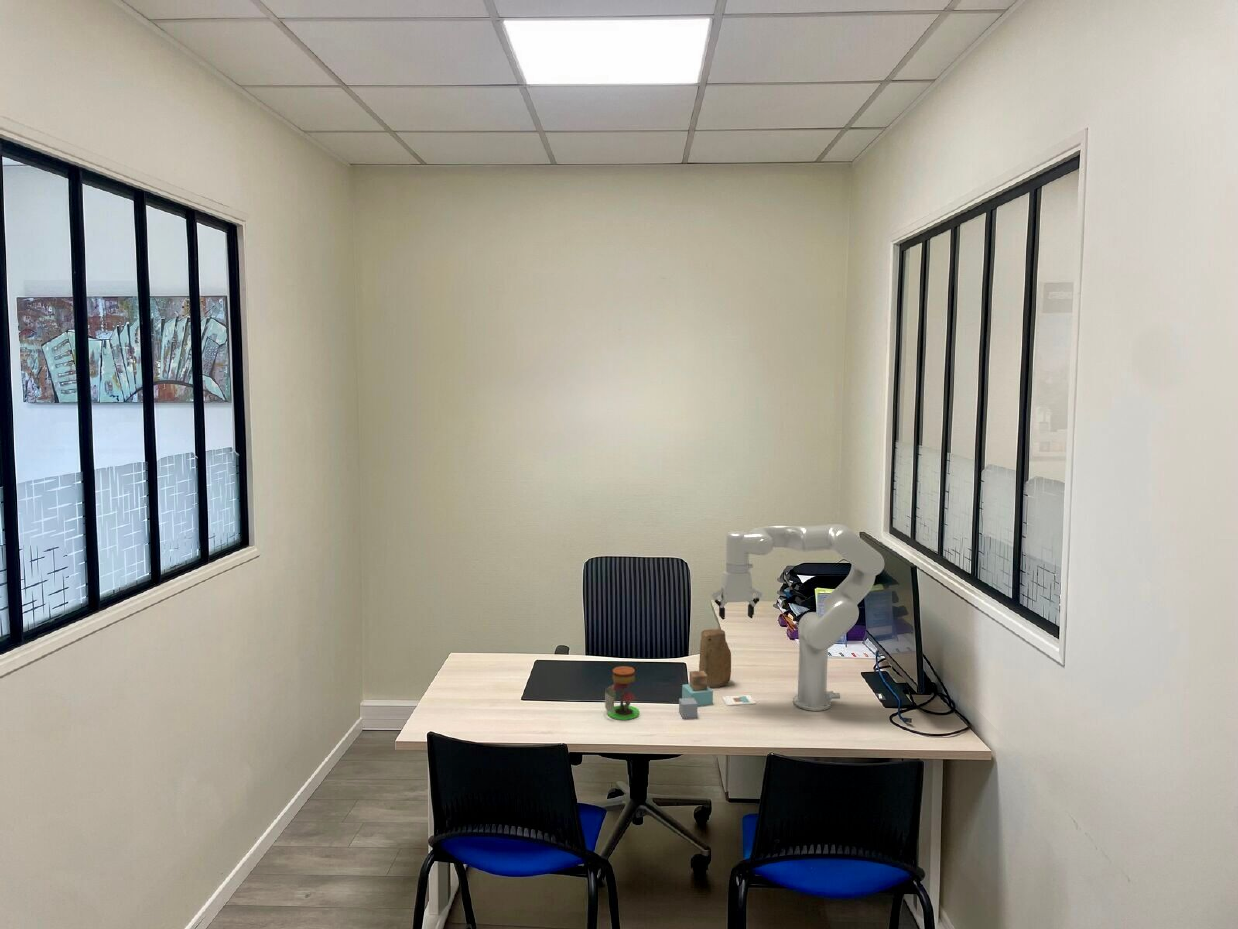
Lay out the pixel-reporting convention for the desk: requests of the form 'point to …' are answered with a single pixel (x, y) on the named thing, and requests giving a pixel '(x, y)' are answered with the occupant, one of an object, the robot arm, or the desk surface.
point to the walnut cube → (698, 680)
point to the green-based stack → (621, 681)
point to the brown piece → (715, 657)
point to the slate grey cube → (688, 708)
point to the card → (738, 700)
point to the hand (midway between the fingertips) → (736, 617)
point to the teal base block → (698, 695)
